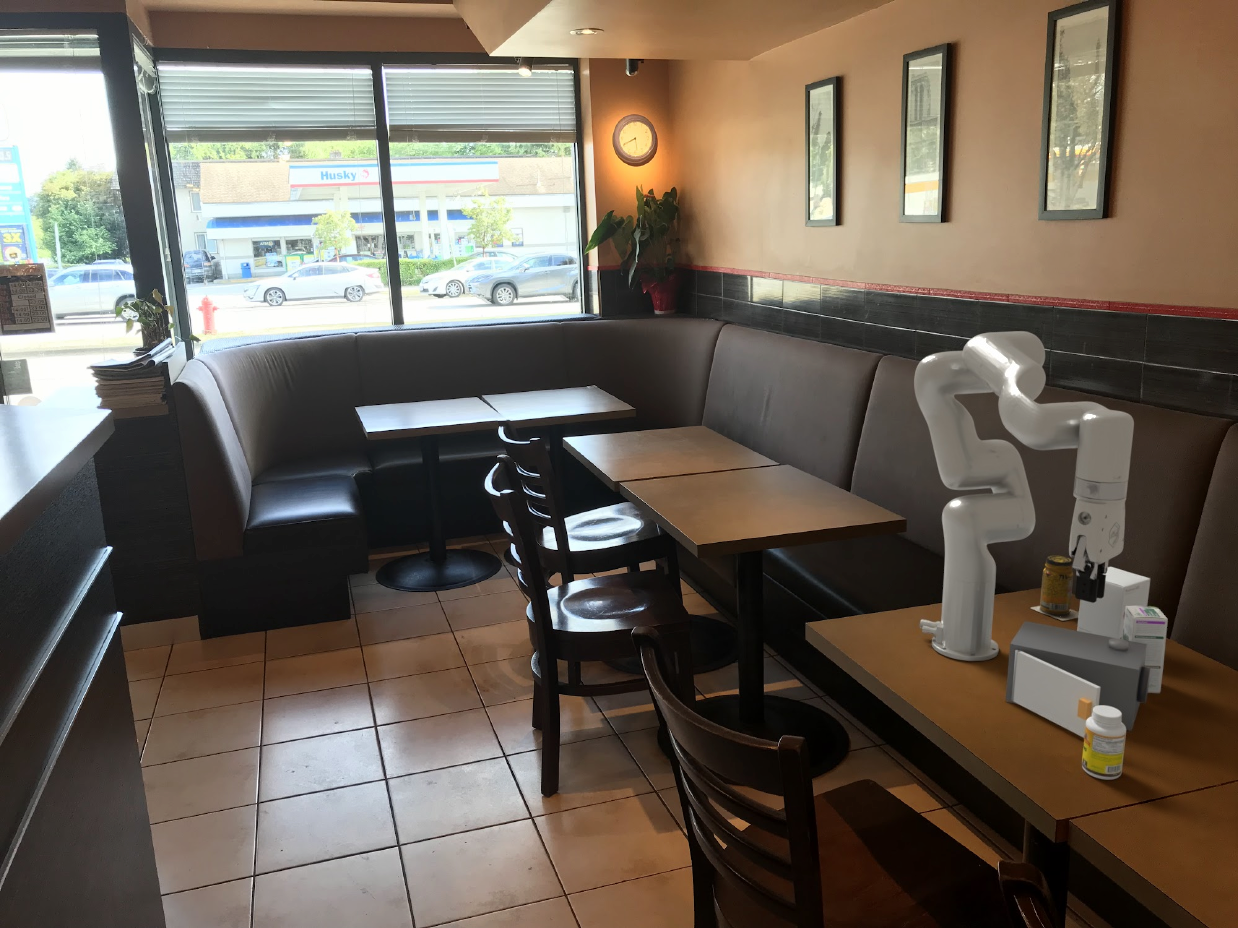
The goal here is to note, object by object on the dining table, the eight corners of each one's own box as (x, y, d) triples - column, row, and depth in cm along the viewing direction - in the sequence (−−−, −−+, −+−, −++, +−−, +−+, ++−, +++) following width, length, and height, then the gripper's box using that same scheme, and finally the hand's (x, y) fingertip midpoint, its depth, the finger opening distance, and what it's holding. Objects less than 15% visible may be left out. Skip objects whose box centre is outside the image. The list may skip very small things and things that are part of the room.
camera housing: (1005, 701, 172) (1010, 638, 169) (1020, 675, 182) (1025, 615, 179) (1139, 732, 160) (1147, 665, 158) (1147, 703, 170) (1155, 640, 167)
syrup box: (1161, 693, 174) (1170, 618, 170) (1125, 691, 175) (1134, 616, 172) (1151, 679, 179) (1159, 606, 176) (1116, 677, 180) (1124, 604, 177)
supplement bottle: (1086, 758, 153) (1093, 698, 151) (1125, 769, 150) (1132, 709, 147) (1076, 773, 149) (1082, 712, 147) (1115, 785, 145) (1122, 723, 143)
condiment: (1053, 603, 217) (1057, 552, 214) (1085, 615, 209) (1091, 563, 207) (1029, 608, 214) (1034, 557, 211) (1061, 622, 206) (1066, 568, 204)
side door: (1006, 700, 170) (1010, 651, 168) (1013, 698, 171) (1018, 649, 169) (1087, 743, 156) (1092, 689, 154) (1095, 740, 157) (1100, 686, 155)
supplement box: (1116, 659, 188) (1124, 586, 184) (1074, 643, 195) (1081, 573, 192) (1144, 649, 192) (1152, 577, 189) (1102, 634, 200) (1109, 565, 196)
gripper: (1102, 502, 145) (1091, 617, 150) (1145, 483, 156) (1133, 592, 160) (1053, 493, 151) (1043, 604, 155) (1097, 475, 161) (1087, 580, 165)
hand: (1089, 597), depth 157 cm, fingers closed
